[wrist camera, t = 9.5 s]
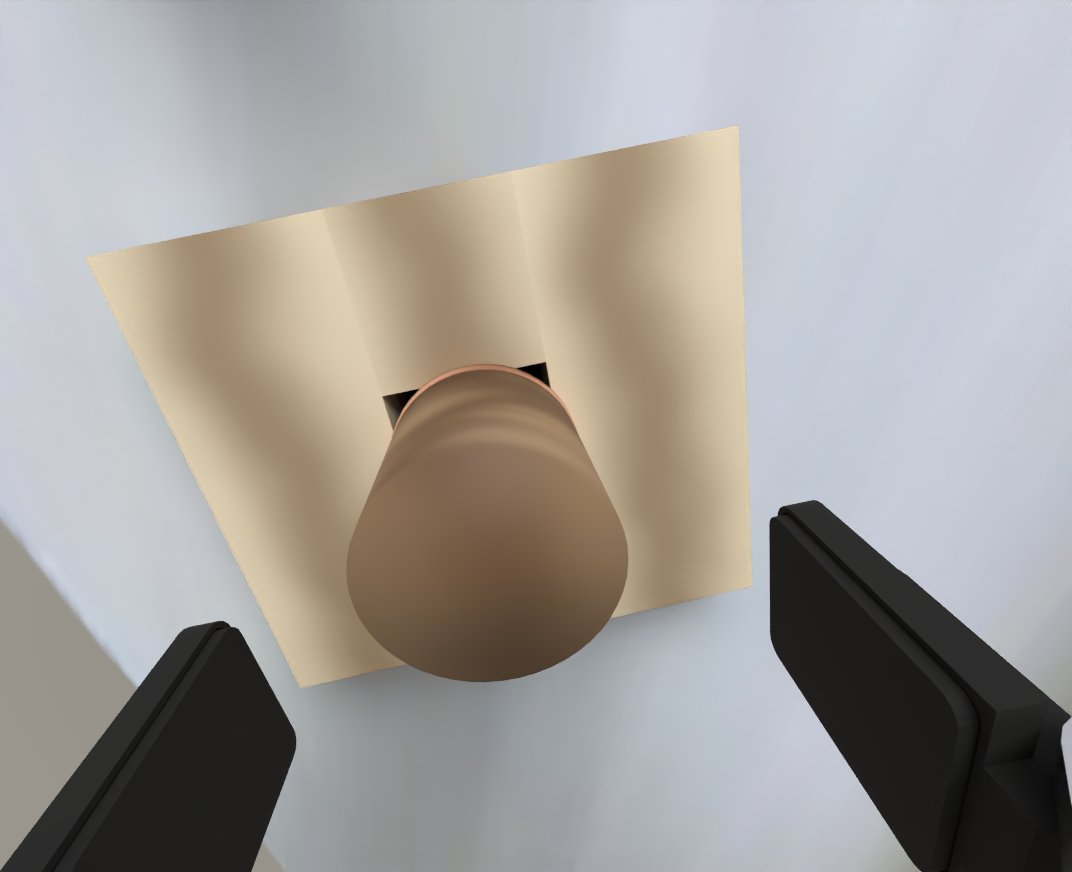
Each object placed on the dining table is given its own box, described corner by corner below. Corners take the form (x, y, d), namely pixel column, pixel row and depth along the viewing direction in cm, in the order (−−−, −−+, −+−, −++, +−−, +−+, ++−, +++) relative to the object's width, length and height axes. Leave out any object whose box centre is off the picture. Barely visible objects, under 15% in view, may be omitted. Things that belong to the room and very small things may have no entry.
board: (690, 144, 17) (738, 125, 14) (714, 537, 24) (752, 586, 20) (159, 251, 17) (84, 257, 14) (325, 624, 23) (300, 688, 20)
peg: (547, 326, 19) (612, 415, 10) (573, 470, 22) (644, 650, 12) (385, 359, 19) (299, 483, 10) (429, 501, 21) (392, 708, 12)
